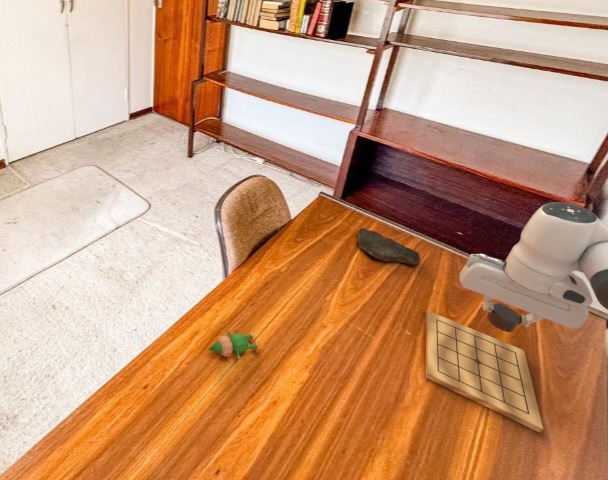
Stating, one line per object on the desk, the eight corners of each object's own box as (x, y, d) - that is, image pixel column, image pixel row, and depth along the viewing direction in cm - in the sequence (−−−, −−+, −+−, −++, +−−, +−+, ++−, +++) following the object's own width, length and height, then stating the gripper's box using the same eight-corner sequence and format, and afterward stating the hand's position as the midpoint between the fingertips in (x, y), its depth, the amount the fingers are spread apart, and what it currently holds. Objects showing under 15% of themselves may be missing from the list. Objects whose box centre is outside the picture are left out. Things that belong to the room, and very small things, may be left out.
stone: (419, 258, 124) (422, 251, 123) (412, 279, 116) (415, 271, 115) (359, 232, 134) (361, 225, 133) (349, 250, 126) (351, 243, 125)
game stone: (512, 319, 89) (518, 310, 88) (516, 336, 86) (522, 327, 84) (485, 308, 92) (490, 299, 91) (488, 324, 88) (493, 315, 87)
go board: (521, 354, 96) (524, 350, 95) (539, 433, 81) (543, 428, 80) (425, 314, 105) (427, 310, 105) (425, 377, 90) (428, 373, 89)
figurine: (259, 360, 93) (211, 369, 90) (247, 333, 99) (201, 341, 96) (263, 347, 91) (214, 357, 88) (250, 321, 97) (204, 329, 94)
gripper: (472, 259, 84) (449, 304, 90) (604, 305, 75) (568, 352, 81) (470, 242, 89) (448, 285, 95) (594, 283, 80) (560, 329, 86)
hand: (504, 316), depth 88 cm, fingers closed on game stone, 5 cm apart
